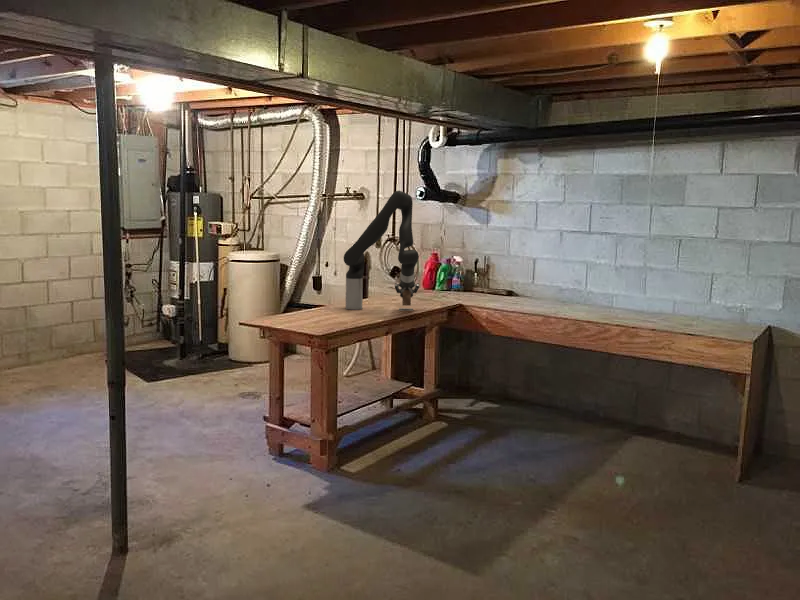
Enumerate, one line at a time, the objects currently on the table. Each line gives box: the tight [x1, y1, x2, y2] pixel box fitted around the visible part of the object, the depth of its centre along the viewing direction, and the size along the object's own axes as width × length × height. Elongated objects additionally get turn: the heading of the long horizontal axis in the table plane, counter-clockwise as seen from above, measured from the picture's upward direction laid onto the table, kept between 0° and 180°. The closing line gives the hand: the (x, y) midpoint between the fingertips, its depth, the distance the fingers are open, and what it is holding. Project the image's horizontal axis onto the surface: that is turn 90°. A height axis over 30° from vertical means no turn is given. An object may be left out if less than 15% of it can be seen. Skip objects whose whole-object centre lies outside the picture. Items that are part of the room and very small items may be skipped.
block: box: [401, 290, 412, 306], centre depth 371 cm, size 4×4×11 cm
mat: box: [398, 307, 414, 312], centre depth 373 cm, size 8×8×1 cm
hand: (406, 296), depth 373 cm, fingers closed on block, 4 cm apart
